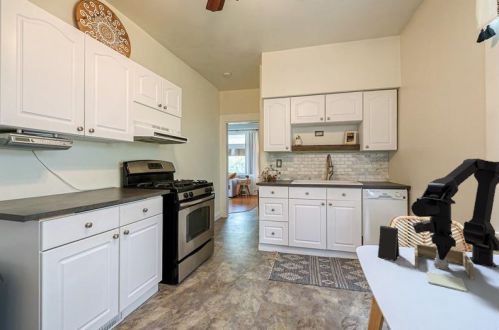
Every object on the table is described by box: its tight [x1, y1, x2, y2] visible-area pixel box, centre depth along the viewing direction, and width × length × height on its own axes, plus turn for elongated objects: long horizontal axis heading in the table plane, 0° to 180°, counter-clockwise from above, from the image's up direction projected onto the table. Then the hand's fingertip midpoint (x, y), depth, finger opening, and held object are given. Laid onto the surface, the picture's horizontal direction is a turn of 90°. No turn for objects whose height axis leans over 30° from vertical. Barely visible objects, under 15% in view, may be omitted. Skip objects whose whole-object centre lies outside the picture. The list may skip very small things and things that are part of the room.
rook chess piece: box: [433, 245, 450, 270], centre depth 84 cm, size 4×4×8 cm
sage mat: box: [426, 271, 468, 293], centre depth 73 cm, size 9×9×1 cm
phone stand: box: [377, 225, 400, 262], centre depth 94 cm, size 9×6×12 cm, turn 136°
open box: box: [414, 243, 475, 280], centre depth 85 cm, size 16×16×4 cm
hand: (441, 258), depth 84 cm, fingers closed on rook chess piece, 3 cm apart
